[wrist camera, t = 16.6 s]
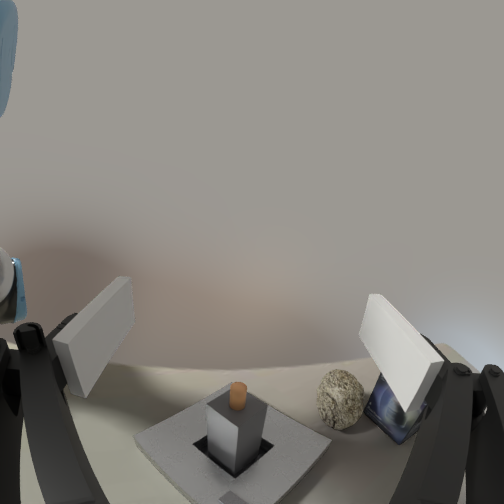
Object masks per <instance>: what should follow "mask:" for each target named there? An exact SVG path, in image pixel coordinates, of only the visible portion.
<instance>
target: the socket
mask: <svg viewBox="0 0 504 504" xmlns="http://www.w3.org/2000/svg"><path fill="white" fill-rule="evenodd" d="M231 384H232V382H231V383H229V384H228V385H226V386H225V387H223V388H221V389H220V390H218V391H216V392H214V393H213V394H211V395H209V396H208V397H206V398H204V399H202V400H201V401H199V402H197V403H195V404H194V405H192V406H190V407H188V408H186V409H184V410H183V411H181V412H179V413H177V414H175V415H173V416H171V417H169V418H168V419H166V420H164V421H162V422H160V423H158V424H156V425H154V426H152V427H150V428H148V429H146V430H144V431H141V432H139V433H137V434H135V435H133V437H134V440H135V443H136V445H137V447H138V448H139V450H140V451H141V452H142V453H143V454H144V455H145V457H146V458H147V459H148V460H149V461H150V462H151V463H152V464H153V465H154V467H155V468H156V469H157V470H158V471H159V472H160V473H161V474H162V475H163V476H164V477H165V478H166V479H167V480H168V481H169V482H170V483H171V484H172V485H173V486H174V487H175V488H176V489H177V490H178V491H179V492H180V493H181V494H182V495H183V496H184V497H185V498H187V499H188V500H189V501H190V502H191V503H192V504H278V503H279V502H280V501H281V500H282V499H283V498H284V497H285V496H286V495H287V494H288V493H289V492H290V491H291V490H292V489H293V488H294V487H295V486H296V485H297V484H298V483H299V482H300V481H301V480H302V479H303V478H304V476H305V475H306V474H307V473H308V472H309V471H310V470H311V469H312V467H313V466H314V465H315V464H316V463H317V462H318V460H319V459H320V458H321V457H322V456H323V454H324V453H325V452H326V451H327V449H328V447H329V445H330V443H331V441H332V440H331V439H329V438H327V437H325V436H323V435H321V434H319V433H317V432H315V431H313V430H311V429H309V428H308V427H306V426H304V425H302V424H300V423H298V422H296V421H295V420H293V419H291V418H289V417H288V416H286V415H284V414H282V413H281V412H279V411H277V410H275V409H274V408H272V407H270V406H269V405H268V407H267V413H266V418H265V423H264V428H263V433H262V438H261V443H260V448H259V453H258V456H257V457H256V458H255V459H253V460H252V461H251V462H250V463H249V464H247V465H246V466H245V467H244V468H242V469H241V470H240V471H239V472H237V473H236V474H235V475H233V474H232V473H230V472H229V471H228V470H227V469H225V468H224V467H223V466H221V465H220V464H219V463H218V462H216V461H215V460H214V459H213V458H211V457H210V456H209V455H208V440H207V413H206V404H207V403H208V402H210V401H212V400H213V399H215V398H217V397H218V396H220V395H221V394H223V393H225V392H226V391H228V390H230V386H231ZM255 398H256V397H255Z"/></svg>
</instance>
